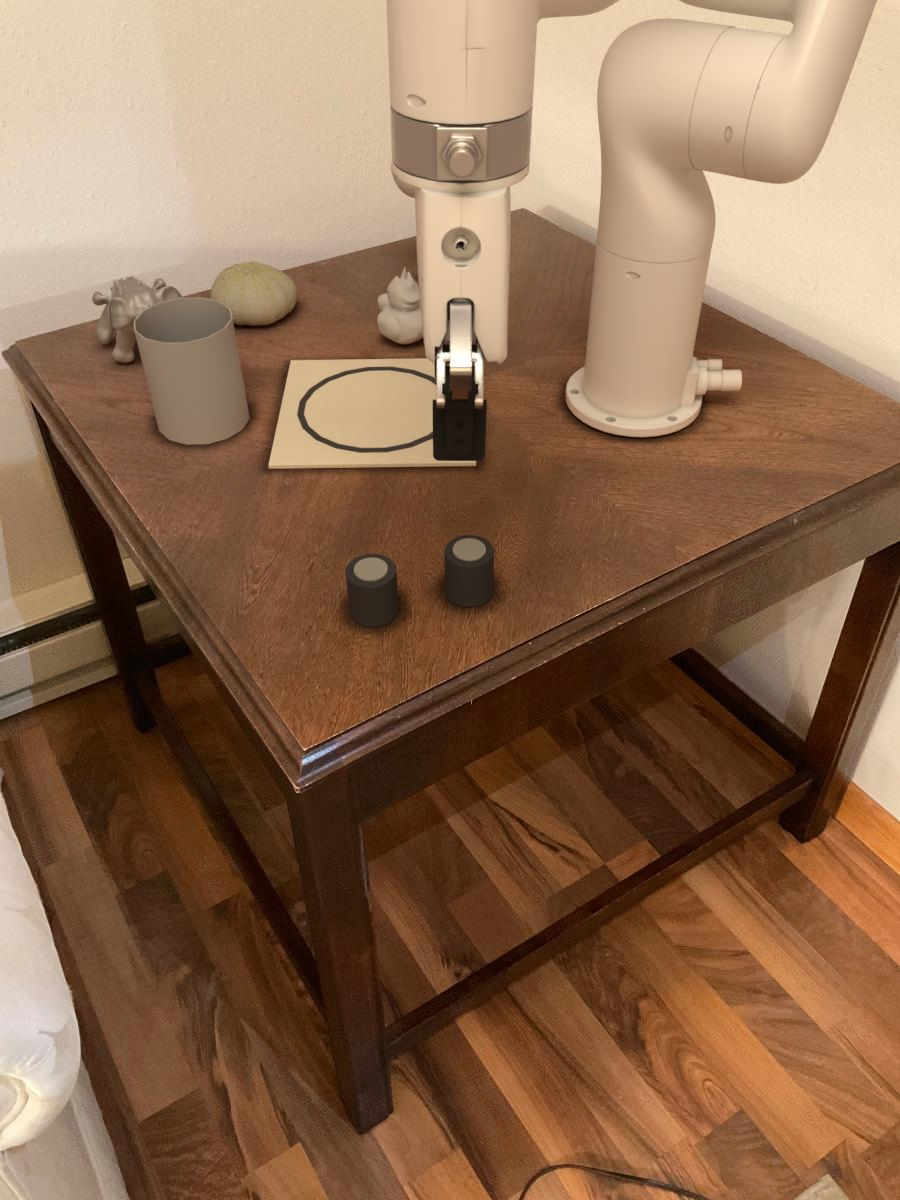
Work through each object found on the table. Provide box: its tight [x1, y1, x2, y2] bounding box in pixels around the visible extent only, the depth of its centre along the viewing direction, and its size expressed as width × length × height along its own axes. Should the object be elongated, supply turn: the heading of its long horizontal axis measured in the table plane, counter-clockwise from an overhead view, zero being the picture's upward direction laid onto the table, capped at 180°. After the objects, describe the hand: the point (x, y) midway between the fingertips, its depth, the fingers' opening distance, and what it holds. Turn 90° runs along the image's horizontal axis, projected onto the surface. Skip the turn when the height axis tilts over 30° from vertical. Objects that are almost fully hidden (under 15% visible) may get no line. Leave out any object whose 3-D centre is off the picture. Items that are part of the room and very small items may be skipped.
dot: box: [345, 553, 400, 629], centre depth 71 cm, size 4×4×4 cm
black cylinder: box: [443, 534, 495, 608], centre depth 72 cm, size 4×4×4 cm
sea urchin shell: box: [209, 260, 298, 327], centre depth 105 cm, size 9×8×8 cm
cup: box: [134, 296, 251, 446], centre depth 88 cm, size 8×8×10 cm
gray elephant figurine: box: [91, 275, 184, 364], centre depth 98 cm, size 9×12×8 cm
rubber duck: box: [376, 266, 424, 345], centre depth 100 cm, size 5×7×8 cm
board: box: [268, 357, 477, 470], centre depth 92 cm, size 18×18×1 cm
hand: (458, 416), depth 65 cm, fingers open, 9 cm apart
